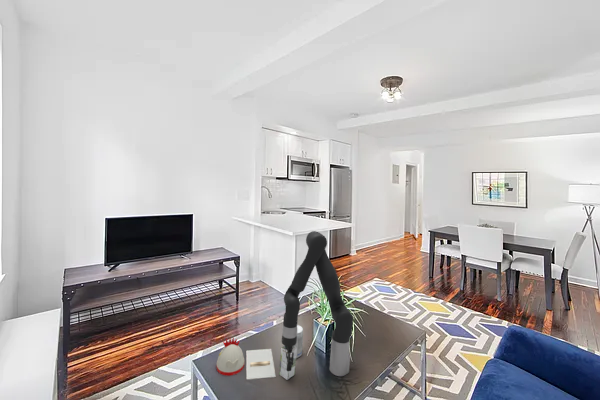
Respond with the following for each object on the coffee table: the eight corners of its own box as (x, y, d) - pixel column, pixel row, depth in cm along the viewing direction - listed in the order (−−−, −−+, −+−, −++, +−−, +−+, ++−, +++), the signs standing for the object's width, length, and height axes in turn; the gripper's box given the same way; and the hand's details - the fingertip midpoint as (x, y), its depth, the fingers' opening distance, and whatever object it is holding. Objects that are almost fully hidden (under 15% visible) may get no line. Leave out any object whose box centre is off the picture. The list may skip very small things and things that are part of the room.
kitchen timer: (215, 359, 142) (216, 332, 141) (241, 355, 147) (243, 328, 146) (217, 378, 129) (218, 348, 128) (246, 372, 134) (247, 343, 133)
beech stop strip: (269, 363, 141) (269, 361, 141) (269, 365, 140) (270, 362, 140) (250, 364, 139) (250, 362, 139) (250, 366, 138) (250, 364, 138)
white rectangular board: (271, 349, 154) (271, 348, 154) (275, 377, 132) (275, 376, 132) (246, 351, 151) (246, 350, 151) (246, 379, 129) (246, 379, 129)
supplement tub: (298, 347, 157) (300, 323, 156) (304, 357, 148) (306, 331, 147) (282, 349, 154) (284, 325, 153) (287, 360, 145) (289, 334, 144)
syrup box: (286, 369, 138) (288, 342, 137) (295, 374, 135) (297, 347, 134) (279, 374, 134) (280, 346, 133) (287, 380, 130) (289, 352, 129)
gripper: (299, 341, 127) (297, 374, 128) (294, 325, 141) (292, 355, 142) (284, 342, 125) (282, 375, 126) (280, 326, 139) (278, 356, 140)
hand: (287, 364), depth 134 cm, fingers closed on syrup box, 8 cm apart
